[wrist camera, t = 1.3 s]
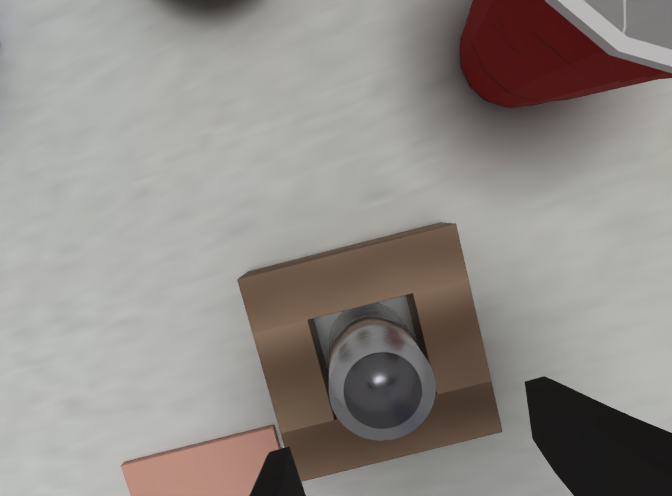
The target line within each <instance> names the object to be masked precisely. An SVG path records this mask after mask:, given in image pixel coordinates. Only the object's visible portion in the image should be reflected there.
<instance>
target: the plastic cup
mask: <svg viewBox="0 0 672 496" xmlns="http://www.w3.org/2000/svg"><path fill="white" fill-rule="evenodd" d="M460 43H461V44H460V56H461V68H462V70H463V72H464V75H465V77H466V79H467V81H468V83H469V85H470V87H471V88H472V89H473V90H474V91H476V92H477V93H478V94H479V95H480V96H481V97H482V98H483V99H484V100H486V101H489V102H492V103H495V104H498V105H501V106H504V107H520V106H531V105H536V104H541V103H545V102H549V101H558V100H568V99H572V98H577V97H581V96H585V95H590V94H594V93H599V92H603V91H608V90H612V89H617V88H621V87H625V86H630V85H634V84H639V83H643V82H648V81H652V80H656V79H666V78H672V0H473V2H472V5H471V8H470V12H469V15H468V18H467V21H466V24H465V27H464V30H463V33H462V36H461V39H460Z"/></svg>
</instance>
